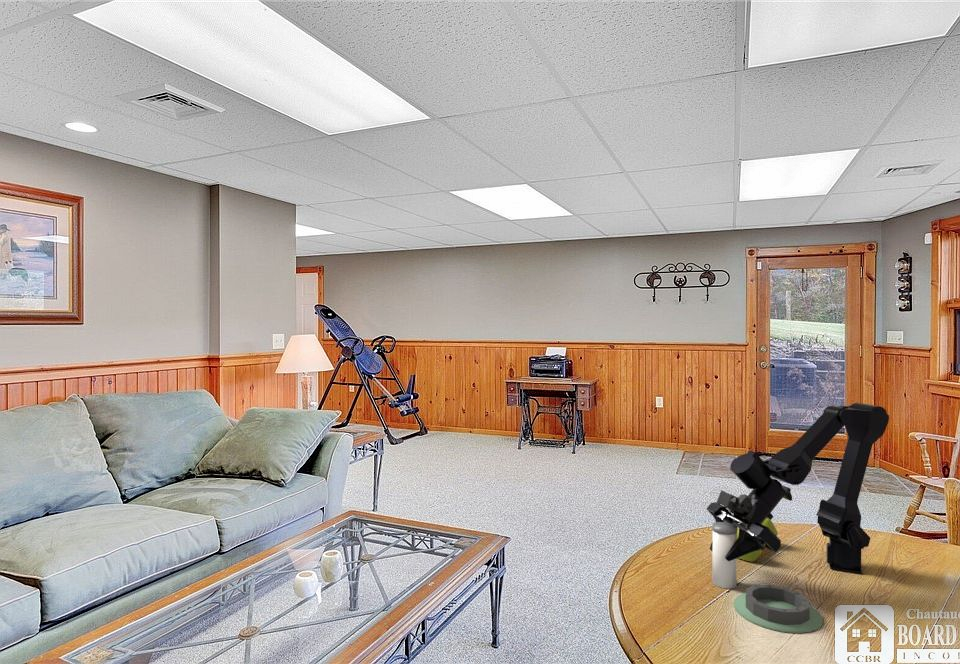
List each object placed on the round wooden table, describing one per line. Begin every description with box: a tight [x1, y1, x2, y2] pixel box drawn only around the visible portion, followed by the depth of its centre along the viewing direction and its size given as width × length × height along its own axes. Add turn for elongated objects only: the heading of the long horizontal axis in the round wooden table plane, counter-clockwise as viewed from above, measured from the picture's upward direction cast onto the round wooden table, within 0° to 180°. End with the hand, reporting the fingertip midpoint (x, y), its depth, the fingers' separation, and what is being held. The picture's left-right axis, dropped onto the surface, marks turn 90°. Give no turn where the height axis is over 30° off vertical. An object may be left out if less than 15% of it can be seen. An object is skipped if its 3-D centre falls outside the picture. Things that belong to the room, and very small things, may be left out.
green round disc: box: [733, 584, 823, 634], centre depth 119 cm, size 16×16×3 cm
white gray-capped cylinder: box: [711, 521, 738, 589], centre depth 132 cm, size 5×5×13 cm
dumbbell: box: [737, 518, 779, 563], centre depth 149 cm, size 16×8×7 cm, turn 138°
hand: (719, 555), depth 131 cm, fingers closed on white gray-capped cylinder, 5 cm apart
